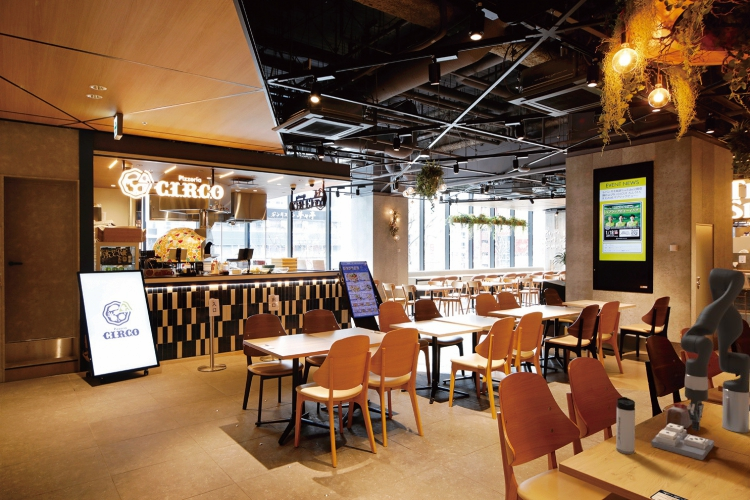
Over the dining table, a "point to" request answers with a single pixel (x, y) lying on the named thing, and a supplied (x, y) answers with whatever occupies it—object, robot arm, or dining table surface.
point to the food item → (678, 415)
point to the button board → (684, 445)
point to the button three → (696, 439)
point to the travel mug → (625, 426)
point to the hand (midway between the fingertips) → (695, 430)
